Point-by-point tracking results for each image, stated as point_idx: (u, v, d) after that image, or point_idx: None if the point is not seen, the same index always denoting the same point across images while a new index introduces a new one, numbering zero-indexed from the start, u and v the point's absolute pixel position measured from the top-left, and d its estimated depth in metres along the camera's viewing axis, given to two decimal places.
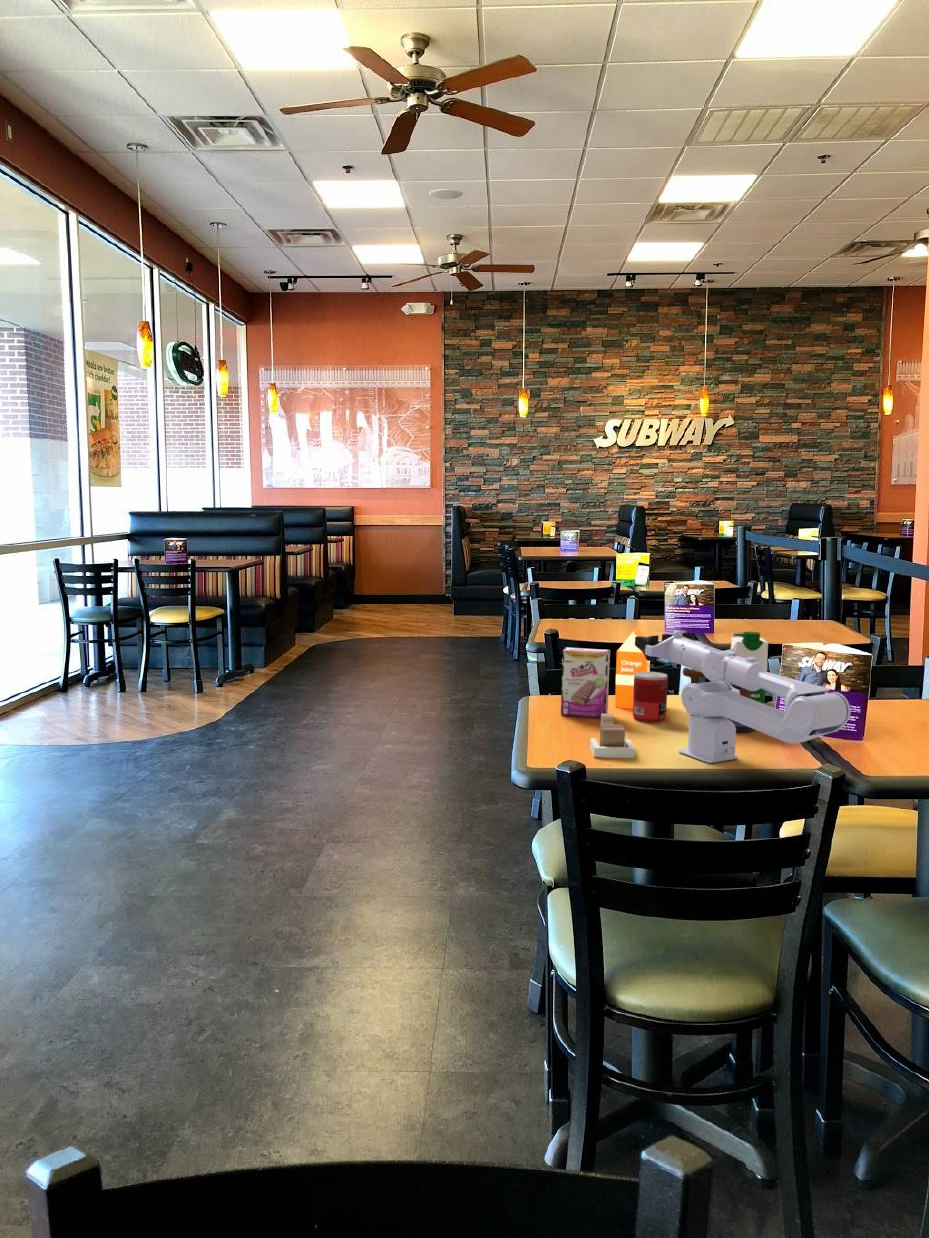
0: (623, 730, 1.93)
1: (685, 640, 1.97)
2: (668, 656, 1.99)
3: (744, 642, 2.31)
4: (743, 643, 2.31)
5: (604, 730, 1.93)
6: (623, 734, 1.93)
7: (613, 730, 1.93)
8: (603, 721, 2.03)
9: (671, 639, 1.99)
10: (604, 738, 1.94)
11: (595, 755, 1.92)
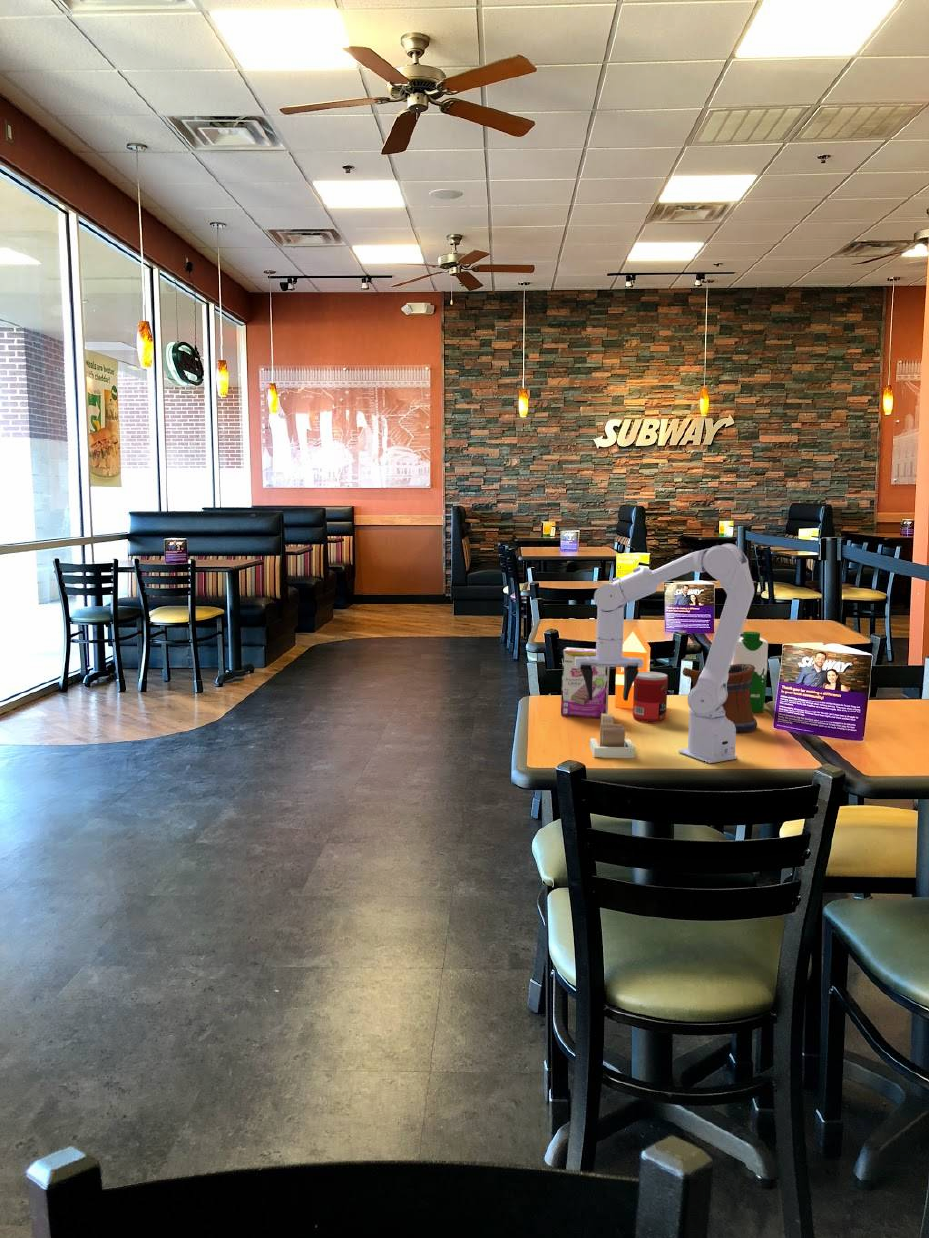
0: (623, 730, 1.93)
1: None
2: (598, 657, 2.01)
3: (744, 642, 2.31)
4: (743, 643, 2.31)
5: (604, 730, 1.93)
6: (623, 734, 1.93)
7: (613, 730, 1.93)
8: (603, 721, 2.03)
9: None
10: (604, 738, 1.94)
11: (595, 755, 1.92)
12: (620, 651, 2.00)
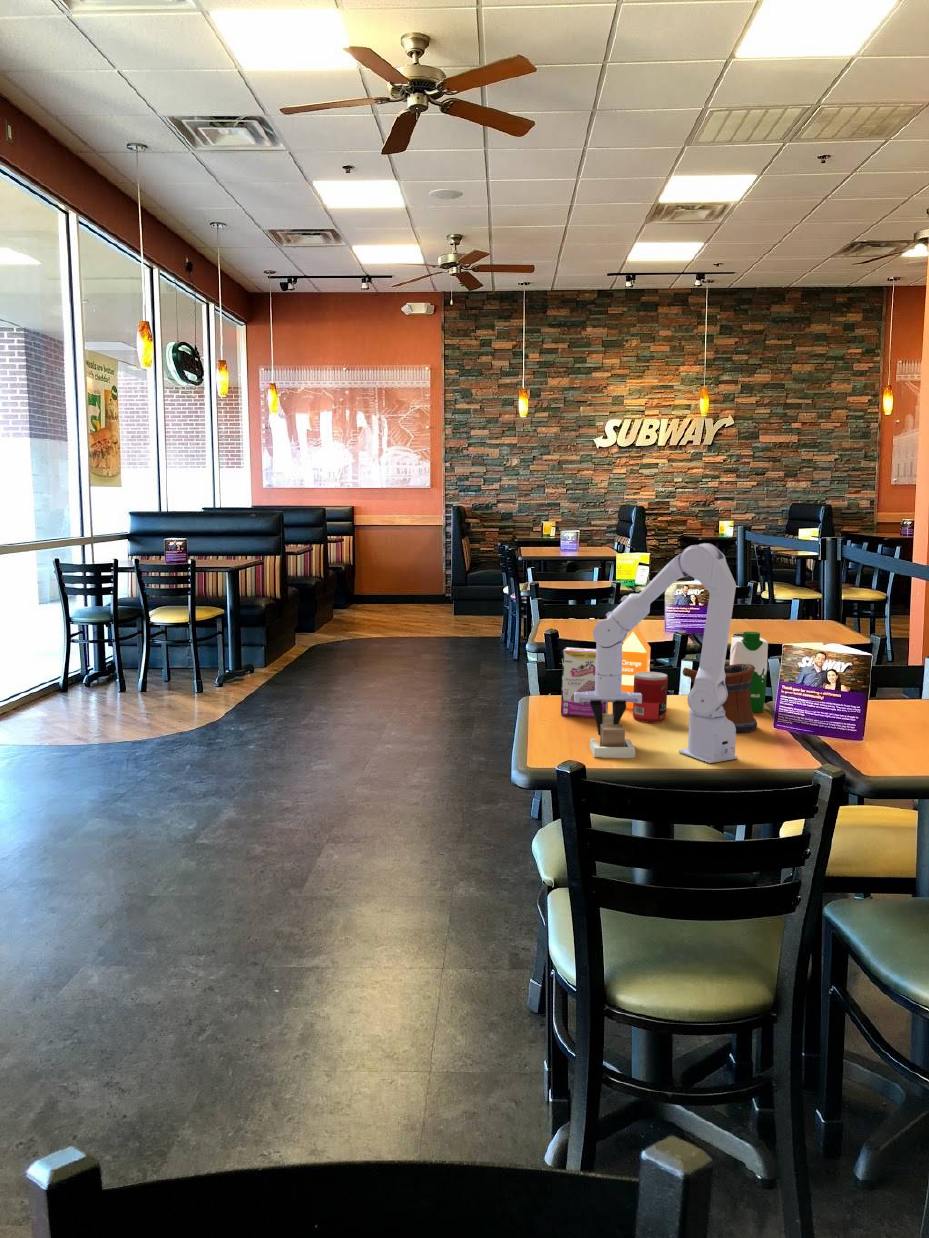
0: (623, 730, 1.93)
1: None
2: (597, 693, 2.02)
3: (744, 642, 2.31)
4: (743, 643, 2.31)
5: (604, 730, 1.93)
6: (623, 734, 1.93)
7: (613, 730, 1.93)
8: (603, 721, 2.03)
9: None
10: (604, 738, 1.94)
11: (595, 755, 1.92)
12: (619, 687, 2.01)
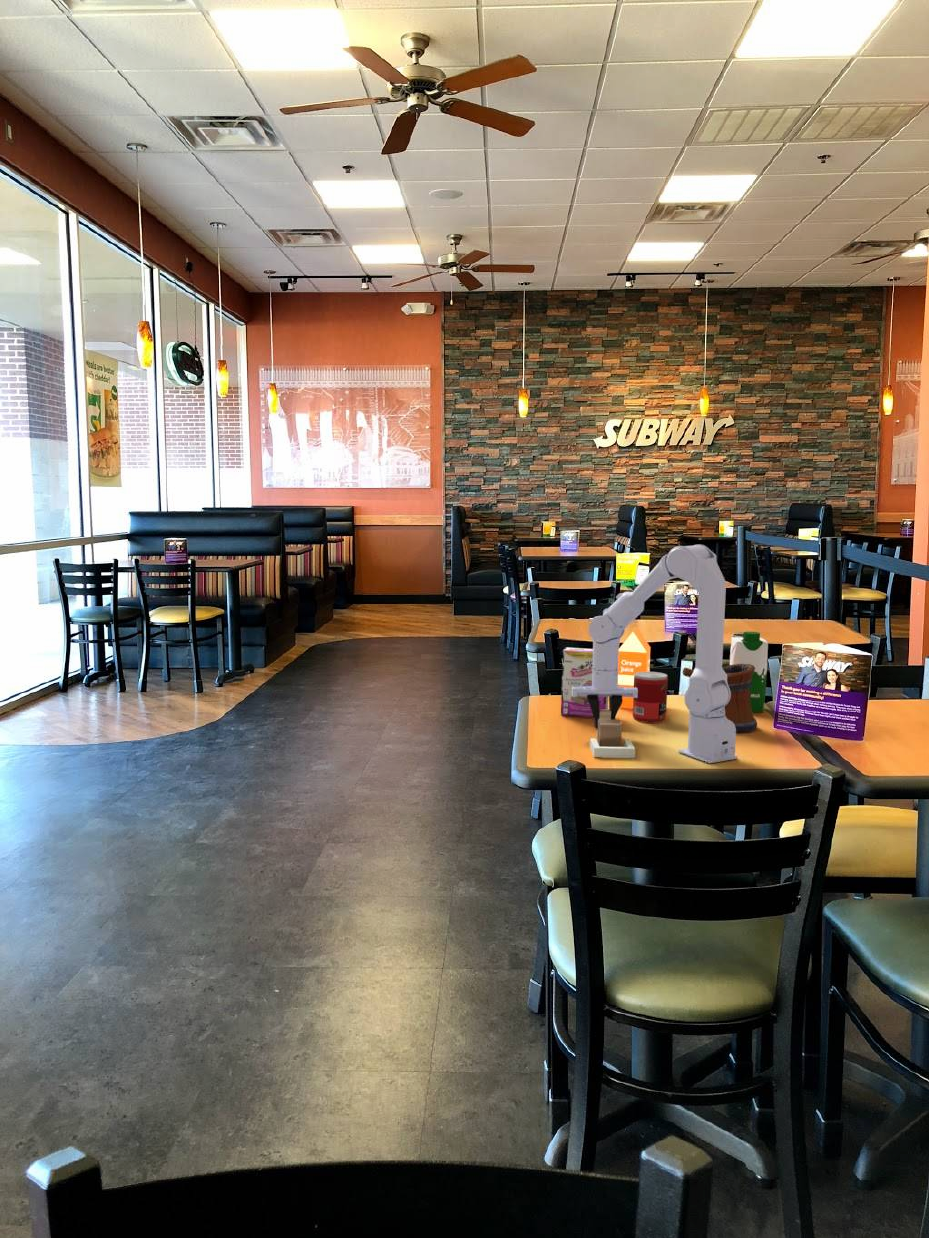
0: (620, 725, 1.97)
1: None
2: (594, 687, 2.07)
3: (744, 642, 2.31)
4: (743, 643, 2.31)
5: (601, 725, 1.97)
6: (620, 729, 1.97)
7: (610, 725, 1.97)
8: (600, 717, 2.07)
9: None
10: (601, 733, 1.98)
11: (595, 755, 1.92)
12: (615, 681, 2.07)
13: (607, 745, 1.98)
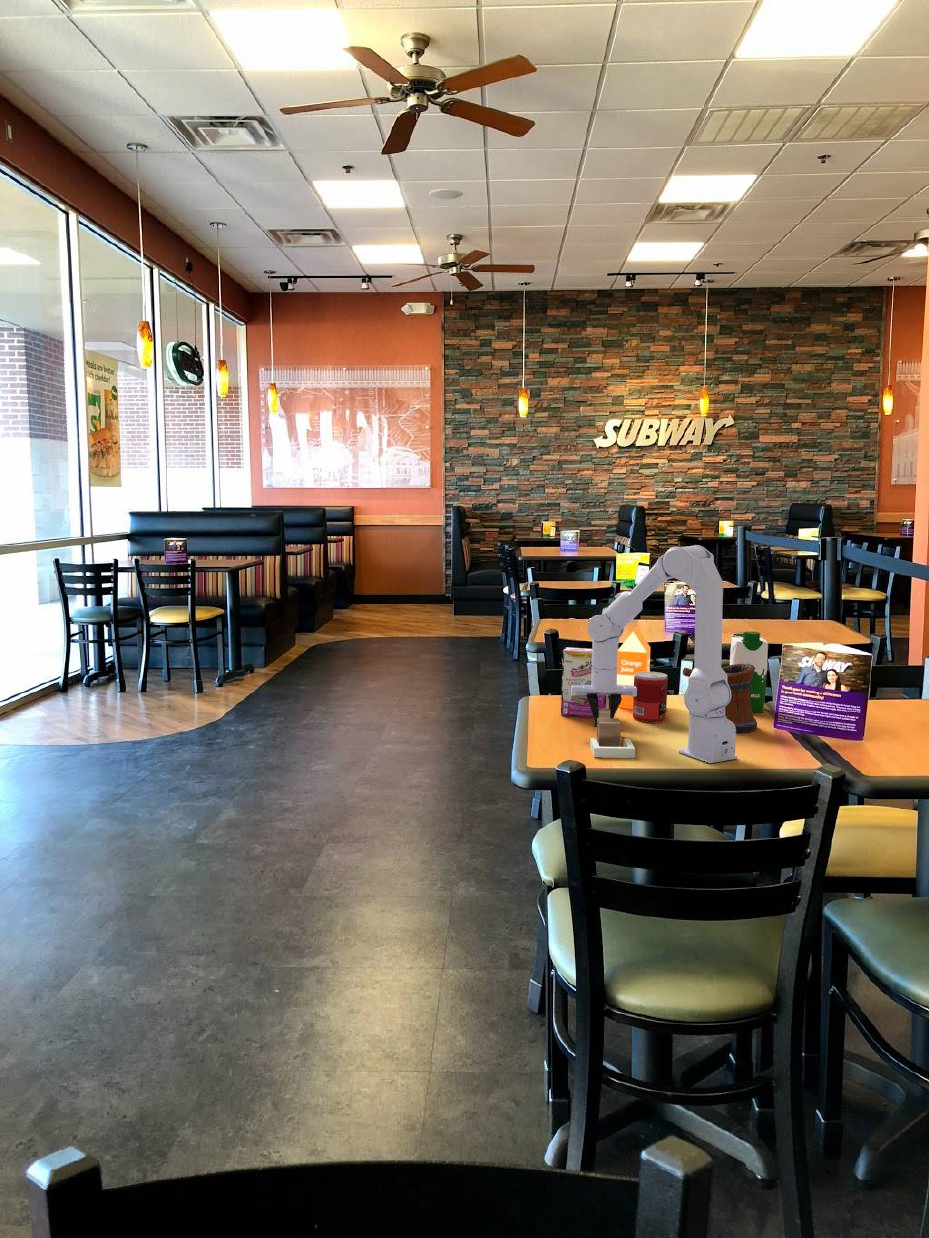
0: (619, 724, 1.99)
1: None
2: (593, 686, 2.09)
3: (744, 642, 2.31)
4: (743, 643, 2.31)
5: (600, 724, 1.99)
6: (619, 728, 1.99)
7: (609, 724, 1.99)
8: (599, 716, 2.08)
9: None
10: (600, 731, 1.99)
11: (595, 755, 1.92)
12: (614, 680, 2.08)
13: (606, 744, 1.99)
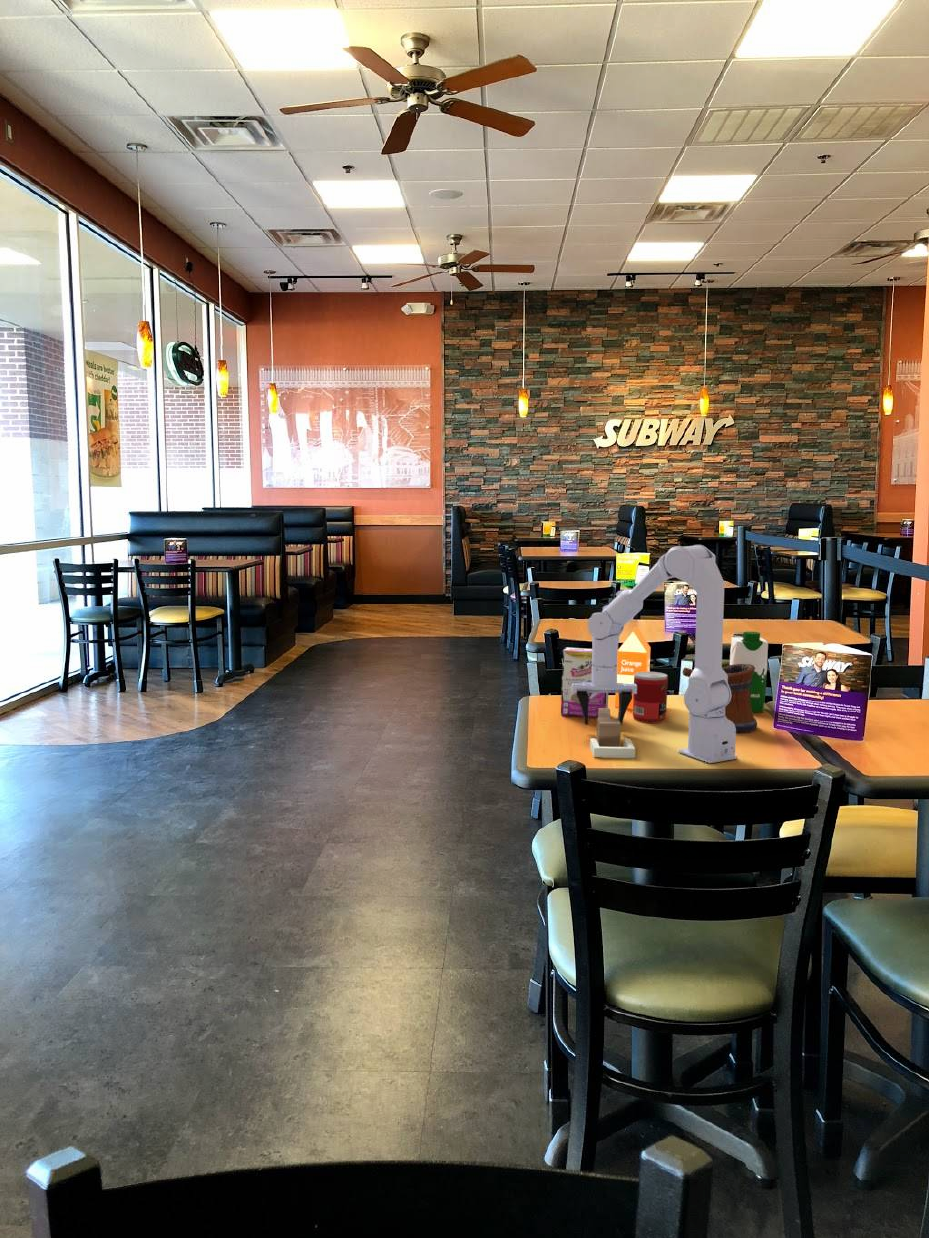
0: (619, 724, 1.99)
1: None
2: (593, 684, 2.09)
3: (744, 642, 2.31)
4: (743, 643, 2.31)
5: (600, 724, 1.99)
6: (619, 728, 1.99)
7: (609, 724, 1.99)
8: (599, 716, 2.08)
9: None
10: (600, 731, 1.99)
11: (595, 755, 1.92)
12: (615, 678, 2.08)
13: (606, 744, 1.99)
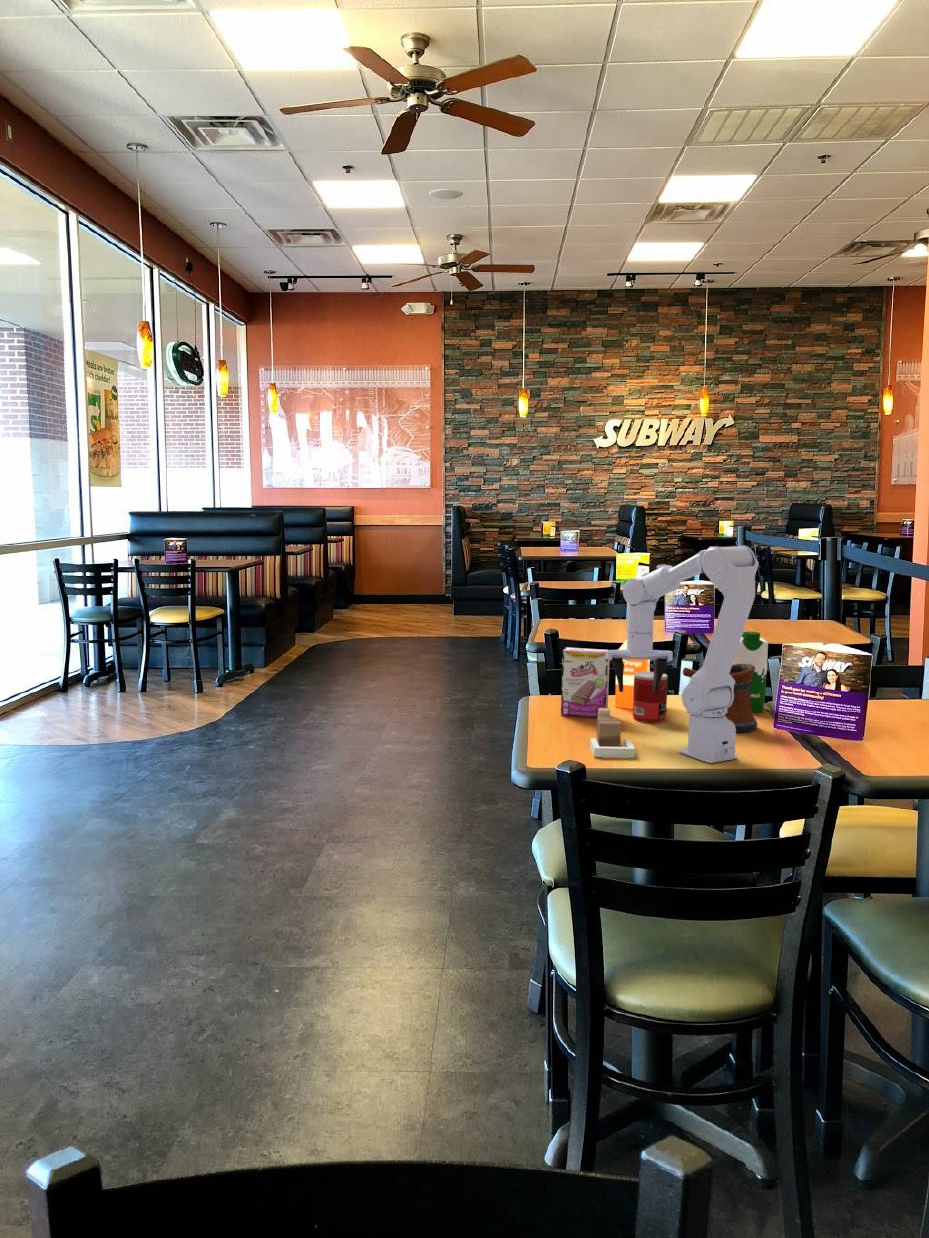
0: (619, 724, 1.99)
1: None
2: (628, 650, 2.07)
3: (744, 642, 2.31)
4: (743, 643, 2.31)
5: (600, 724, 1.99)
6: (619, 728, 1.99)
7: (609, 724, 1.99)
8: (599, 716, 2.08)
9: None
10: (600, 732, 1.99)
11: (595, 755, 1.92)
12: (650, 644, 2.06)
13: (606, 744, 1.99)
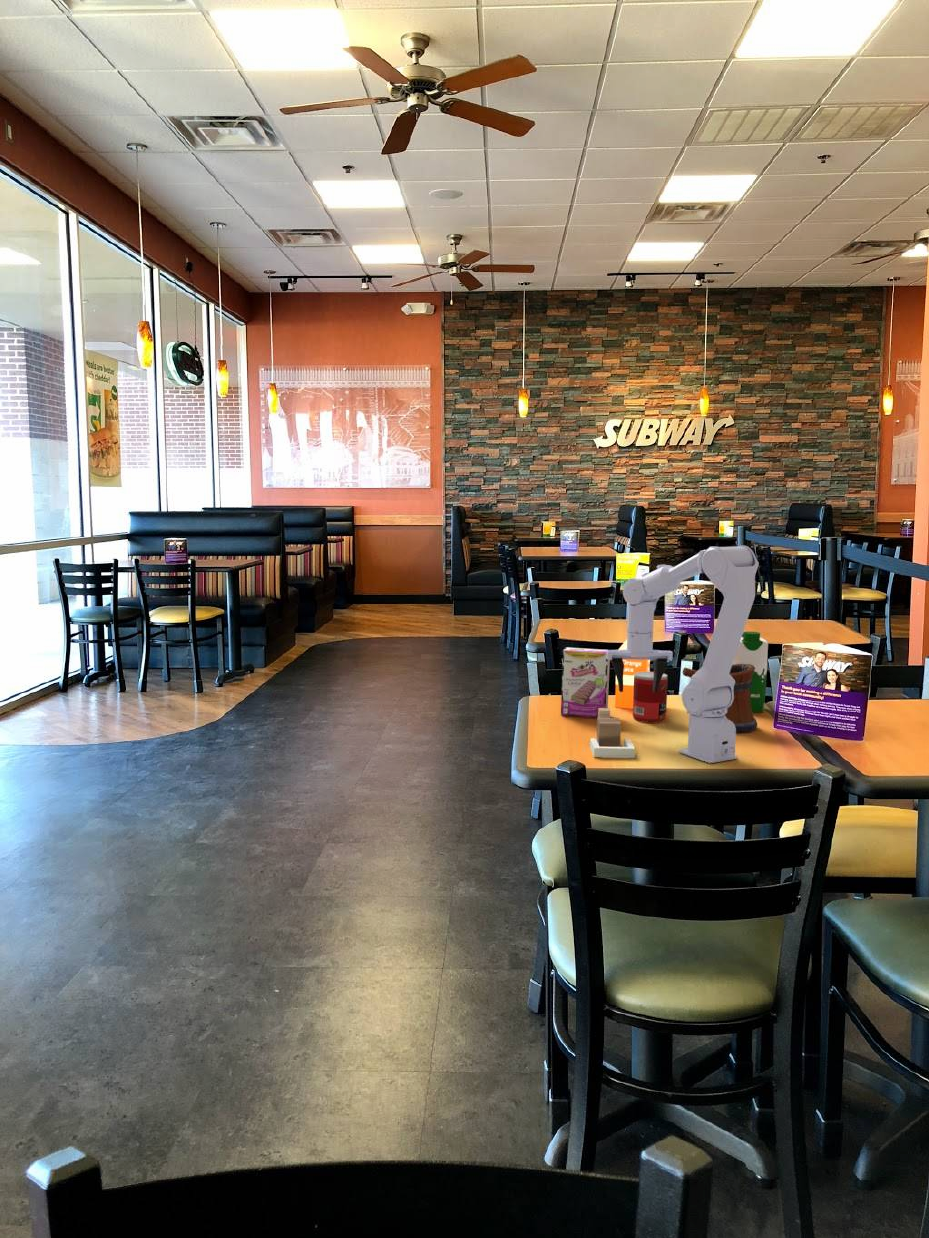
0: (619, 724, 1.99)
1: None
2: (628, 650, 2.07)
3: (744, 642, 2.31)
4: (743, 643, 2.31)
5: (600, 724, 1.99)
6: (619, 728, 1.99)
7: (609, 724, 1.99)
8: (599, 716, 2.08)
9: None
10: (600, 732, 1.99)
11: (595, 755, 1.92)
12: (650, 644, 2.06)
13: (606, 744, 1.99)
